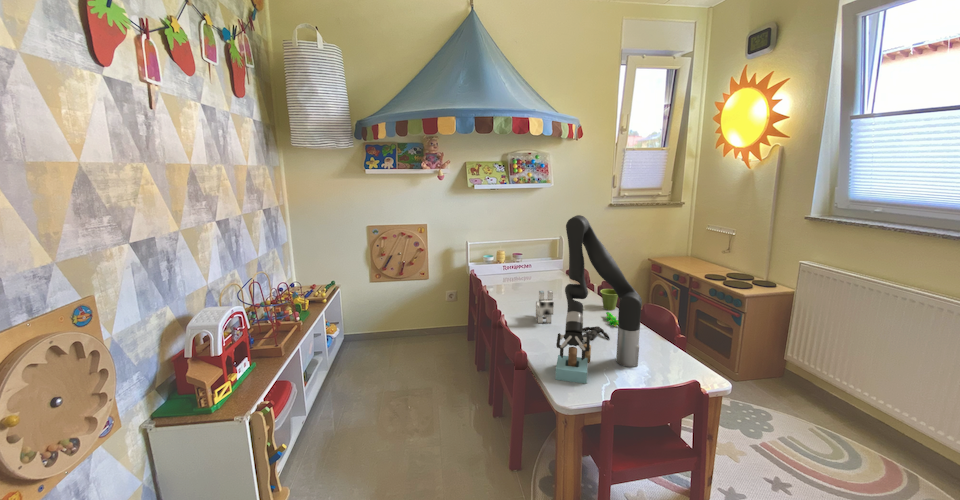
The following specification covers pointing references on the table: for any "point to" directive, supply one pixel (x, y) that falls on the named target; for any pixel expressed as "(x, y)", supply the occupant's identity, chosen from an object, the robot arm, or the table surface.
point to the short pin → (587, 353)
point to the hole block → (571, 370)
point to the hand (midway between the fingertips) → (572, 358)
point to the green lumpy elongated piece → (611, 319)
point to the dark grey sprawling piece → (594, 332)
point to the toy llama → (544, 307)
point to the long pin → (572, 356)
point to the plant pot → (609, 298)
